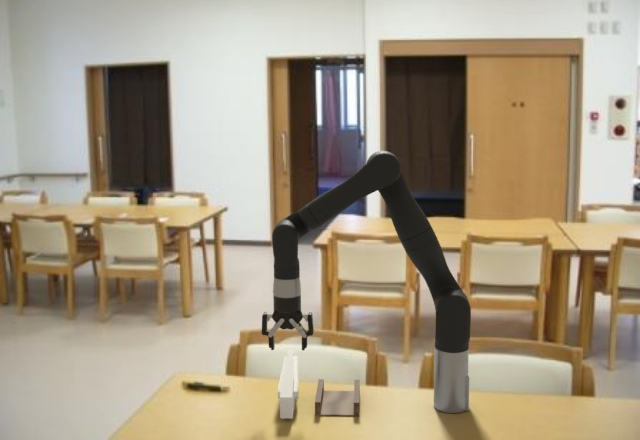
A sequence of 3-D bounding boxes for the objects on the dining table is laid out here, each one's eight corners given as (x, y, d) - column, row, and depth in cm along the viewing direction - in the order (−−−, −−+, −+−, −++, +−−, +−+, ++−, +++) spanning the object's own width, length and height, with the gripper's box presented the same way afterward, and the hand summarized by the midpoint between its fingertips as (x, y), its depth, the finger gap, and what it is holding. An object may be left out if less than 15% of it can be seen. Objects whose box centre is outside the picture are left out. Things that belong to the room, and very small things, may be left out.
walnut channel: (359, 392, 211) (359, 379, 210) (359, 416, 195) (359, 402, 195) (318, 391, 212) (318, 379, 211) (315, 415, 196) (314, 402, 195)
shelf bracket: (301, 384, 218) (300, 348, 213) (297, 438, 194) (296, 399, 190) (283, 384, 218) (281, 348, 213) (277, 438, 195) (275, 399, 190)
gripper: (313, 289, 201) (314, 345, 204) (263, 289, 202) (264, 344, 205) (312, 296, 194) (312, 354, 196) (259, 296, 195) (260, 353, 197)
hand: (288, 349), depth 201 cm, fingers open, 8 cm apart
